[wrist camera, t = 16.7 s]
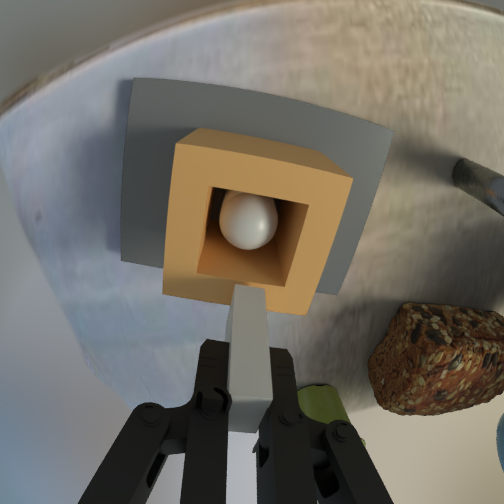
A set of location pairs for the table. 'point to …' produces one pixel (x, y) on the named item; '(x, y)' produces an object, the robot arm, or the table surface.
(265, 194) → the collar
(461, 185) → the shiny metal cylinder
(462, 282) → the table surface
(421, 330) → the bread
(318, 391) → the plant pot
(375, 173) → the board
